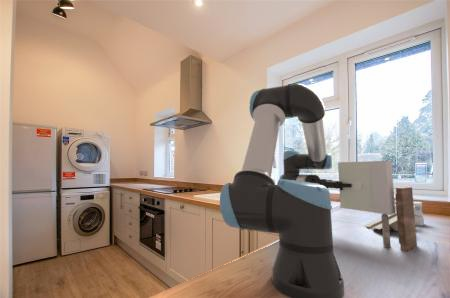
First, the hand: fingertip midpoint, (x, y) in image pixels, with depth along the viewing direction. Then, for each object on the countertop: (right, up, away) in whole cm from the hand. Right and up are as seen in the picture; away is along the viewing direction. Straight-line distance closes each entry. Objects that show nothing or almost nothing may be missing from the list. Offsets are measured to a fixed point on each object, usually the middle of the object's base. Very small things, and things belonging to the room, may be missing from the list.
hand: (364, 185), depth 82 cm
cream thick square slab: (0, -9, -1) cm, 9 cm away
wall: (+19, -22, +14) cm, 32 cm away
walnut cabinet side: (+8, -20, -6) cm, 22 cm away
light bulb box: (+40, -23, +27) cm, 53 cm away
